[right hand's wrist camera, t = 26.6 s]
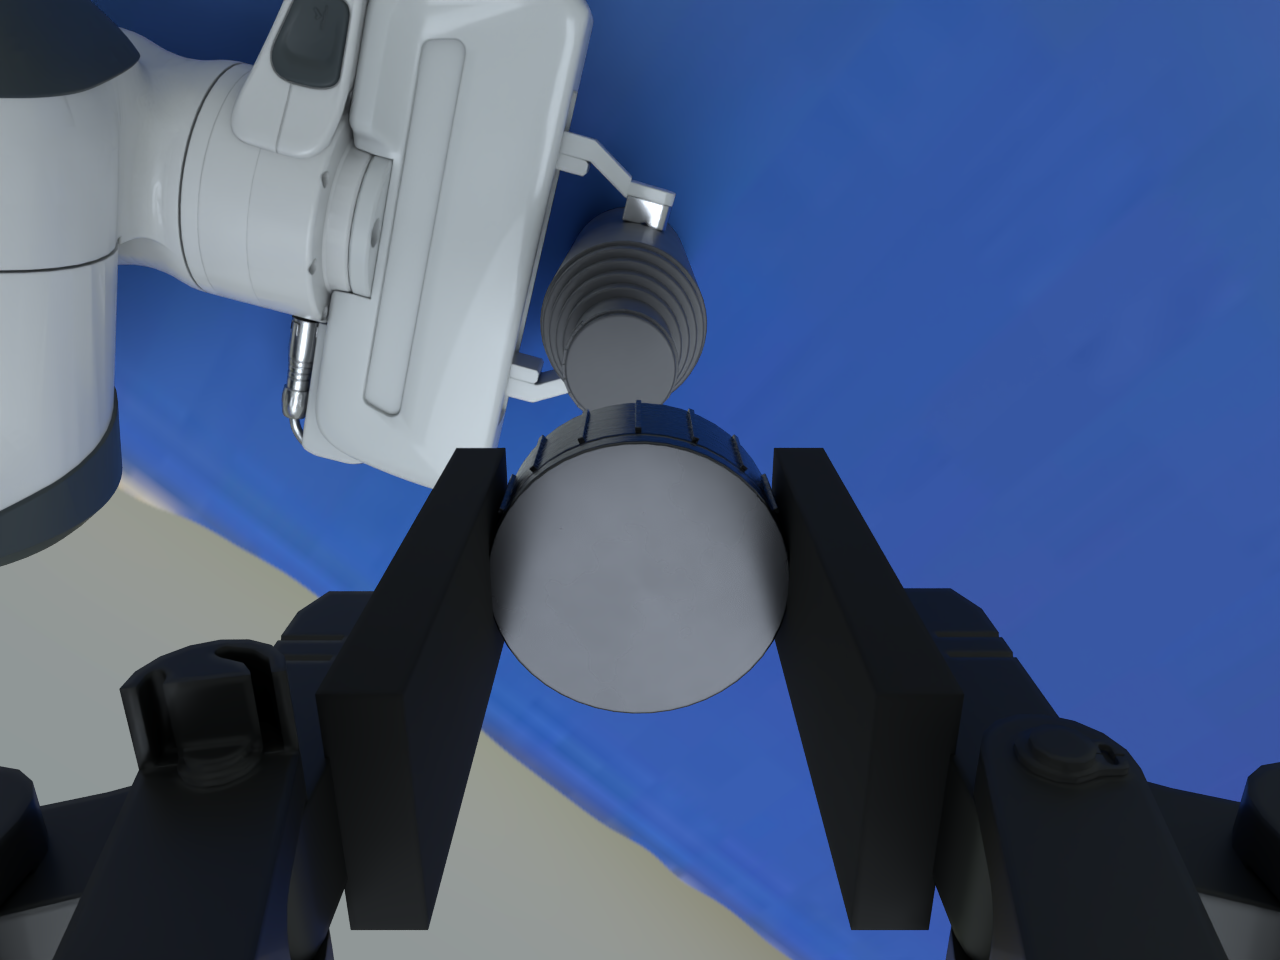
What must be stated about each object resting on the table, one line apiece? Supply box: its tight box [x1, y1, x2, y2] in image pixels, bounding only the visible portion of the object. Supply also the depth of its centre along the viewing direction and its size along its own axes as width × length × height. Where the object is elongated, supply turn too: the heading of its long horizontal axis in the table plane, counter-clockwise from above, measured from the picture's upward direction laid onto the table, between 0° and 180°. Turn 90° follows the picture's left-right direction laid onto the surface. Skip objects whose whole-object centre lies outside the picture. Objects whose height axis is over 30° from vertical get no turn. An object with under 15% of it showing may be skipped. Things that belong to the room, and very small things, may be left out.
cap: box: [489, 400, 790, 713], centre depth 13 cm, size 4×4×2 cm
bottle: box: [540, 207, 707, 411], centre depth 34 cm, size 6×6×20 cm
